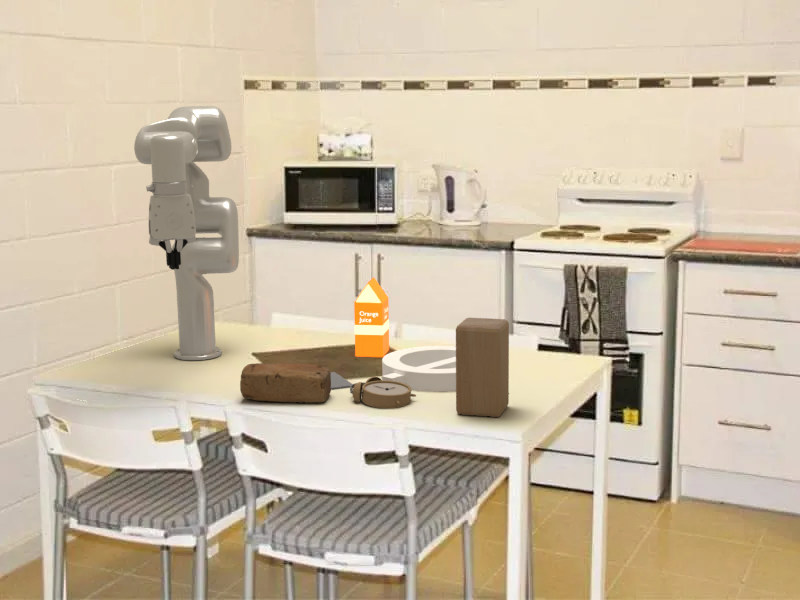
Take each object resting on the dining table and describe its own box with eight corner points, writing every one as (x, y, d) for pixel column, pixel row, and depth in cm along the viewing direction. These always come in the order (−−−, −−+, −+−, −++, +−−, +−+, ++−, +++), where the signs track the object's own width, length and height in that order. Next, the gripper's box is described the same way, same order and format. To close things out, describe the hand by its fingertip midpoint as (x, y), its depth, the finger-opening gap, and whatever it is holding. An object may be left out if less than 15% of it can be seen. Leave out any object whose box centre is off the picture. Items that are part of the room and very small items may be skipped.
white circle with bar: (381, 393, 271) (380, 374, 270) (383, 364, 298) (383, 346, 298) (500, 392, 271) (500, 372, 270) (492, 363, 298) (492, 345, 297)
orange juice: (389, 349, 313) (388, 276, 309) (383, 357, 304) (382, 282, 301) (361, 348, 314) (359, 276, 310) (354, 356, 306) (352, 282, 302)
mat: (248, 383, 280) (248, 381, 280) (334, 373, 289) (334, 371, 289) (265, 397, 268) (265, 396, 268) (354, 386, 276) (354, 385, 276)
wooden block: (465, 403, 261) (465, 316, 257) (509, 406, 258) (509, 318, 254) (455, 415, 252) (454, 325, 248) (500, 418, 249) (500, 328, 245)
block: (238, 401, 263) (325, 406, 261) (238, 369, 262) (325, 374, 260) (249, 388, 274) (333, 393, 272) (249, 357, 272) (333, 362, 270)
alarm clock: (395, 399, 255) (340, 379, 262) (392, 420, 256) (337, 399, 263) (421, 387, 264) (367, 368, 271) (418, 407, 266) (365, 388, 273)
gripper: (140, 193, 257) (145, 274, 261) (206, 189, 263) (210, 268, 267) (133, 189, 264) (138, 268, 268) (197, 185, 270) (201, 263, 274)
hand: (174, 268), depth 267 cm, fingers closed
